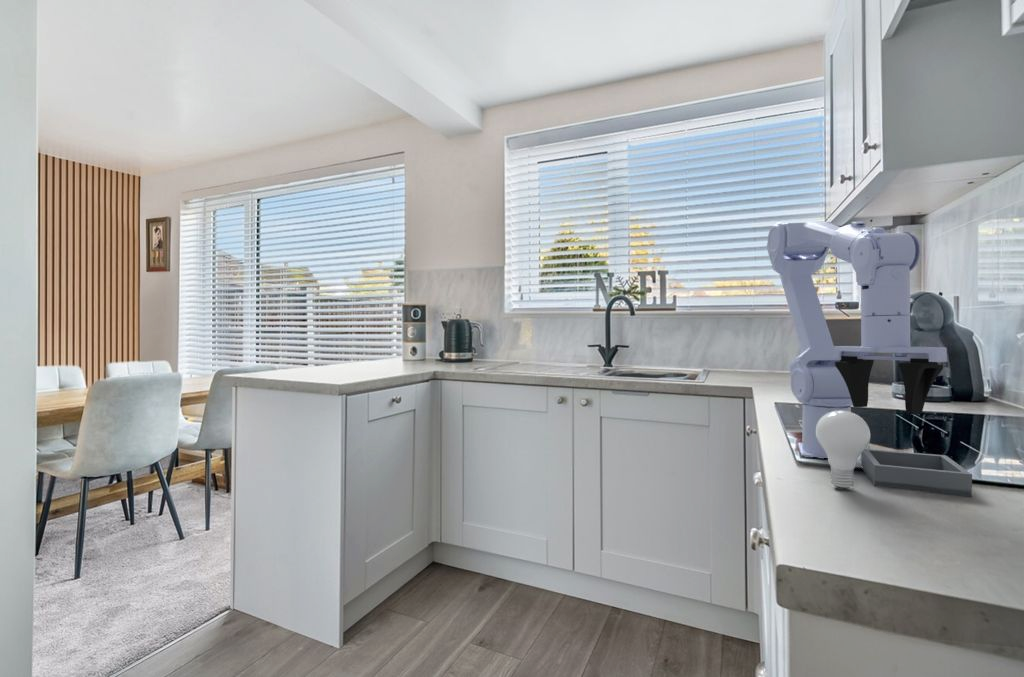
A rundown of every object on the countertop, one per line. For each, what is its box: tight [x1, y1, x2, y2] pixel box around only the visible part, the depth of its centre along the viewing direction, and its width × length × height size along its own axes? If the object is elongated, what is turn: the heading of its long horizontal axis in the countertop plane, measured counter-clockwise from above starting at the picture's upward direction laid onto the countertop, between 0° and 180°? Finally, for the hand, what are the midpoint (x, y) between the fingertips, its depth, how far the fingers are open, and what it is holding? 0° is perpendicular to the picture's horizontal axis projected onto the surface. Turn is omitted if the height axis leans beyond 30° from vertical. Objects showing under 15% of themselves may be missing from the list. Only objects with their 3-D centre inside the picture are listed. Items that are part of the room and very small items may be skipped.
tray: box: [860, 448, 973, 498], centre depth 74 cm, size 11×11×3 cm
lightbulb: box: [816, 410, 871, 491], centre depth 70 cm, size 6×6×11 cm
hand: (885, 410), depth 73 cm, fingers open, 7 cm apart
